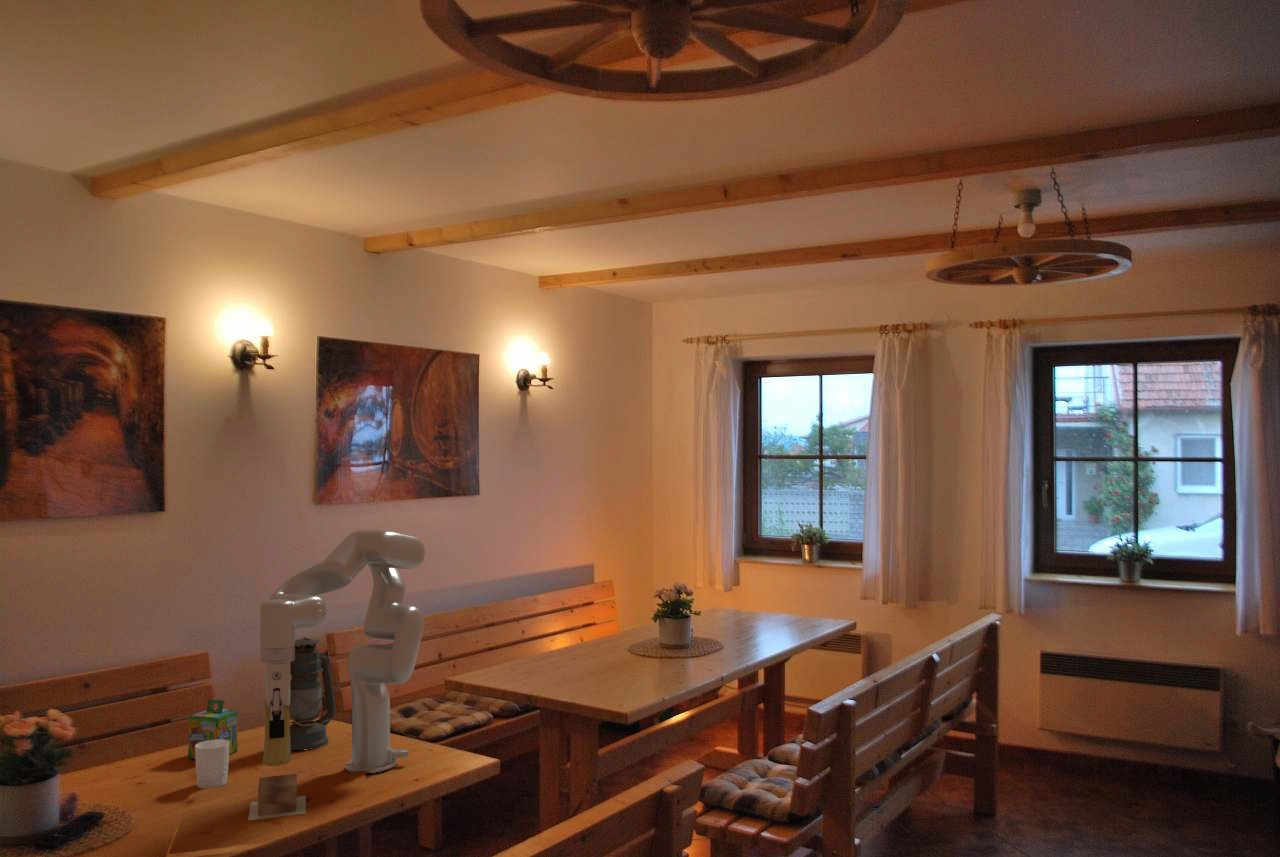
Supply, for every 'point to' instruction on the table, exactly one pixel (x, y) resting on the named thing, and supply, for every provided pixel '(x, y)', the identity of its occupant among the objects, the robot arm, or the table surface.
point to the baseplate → (299, 810)
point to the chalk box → (213, 727)
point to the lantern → (310, 696)
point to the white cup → (212, 763)
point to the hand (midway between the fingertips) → (277, 733)
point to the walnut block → (277, 794)
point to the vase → (277, 741)
